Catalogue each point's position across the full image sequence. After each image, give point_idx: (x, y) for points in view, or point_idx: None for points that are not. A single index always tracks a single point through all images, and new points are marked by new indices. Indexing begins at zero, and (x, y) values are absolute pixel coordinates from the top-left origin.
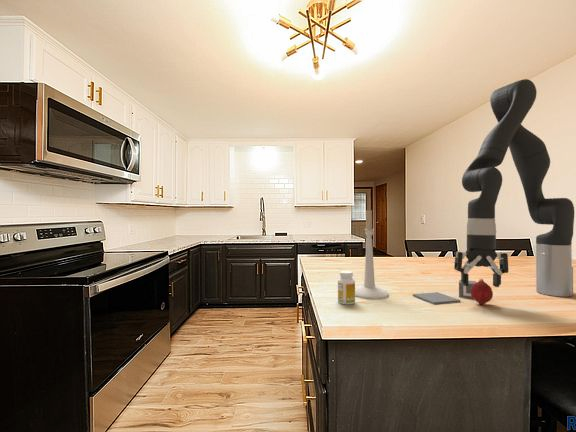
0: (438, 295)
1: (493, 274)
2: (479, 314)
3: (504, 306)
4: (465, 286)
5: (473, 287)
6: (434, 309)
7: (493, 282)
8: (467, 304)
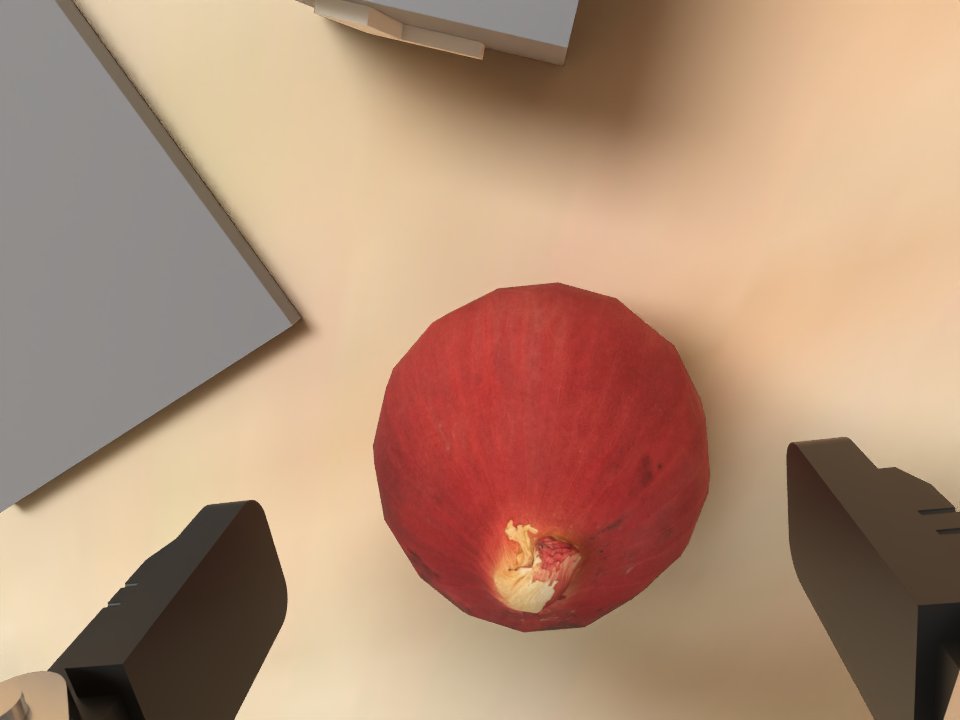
0: (11, 145)
1: (906, 624)
2: (420, 712)
3: (817, 377)
4: (357, 21)
5: (392, 532)
6: (41, 656)
7: (814, 490)
8: (372, 406)
